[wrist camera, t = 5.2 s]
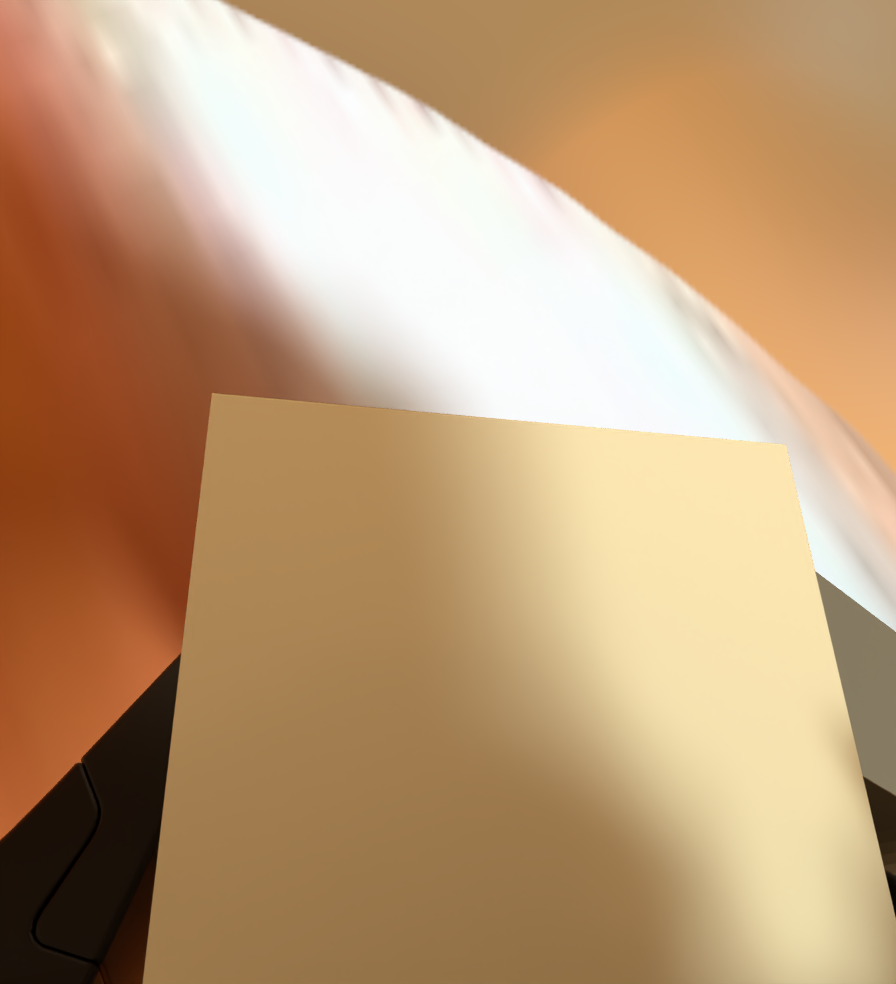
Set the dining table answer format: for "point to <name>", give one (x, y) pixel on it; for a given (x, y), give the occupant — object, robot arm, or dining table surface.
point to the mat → (865, 681)
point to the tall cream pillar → (507, 714)
